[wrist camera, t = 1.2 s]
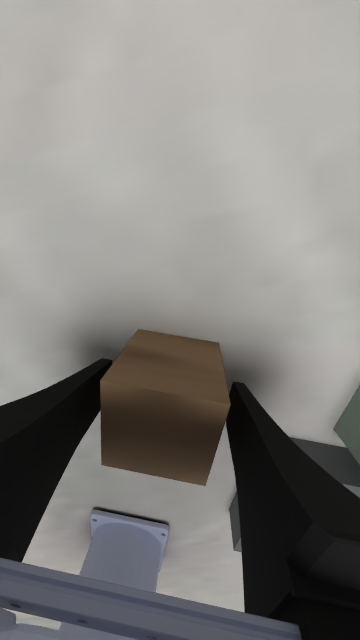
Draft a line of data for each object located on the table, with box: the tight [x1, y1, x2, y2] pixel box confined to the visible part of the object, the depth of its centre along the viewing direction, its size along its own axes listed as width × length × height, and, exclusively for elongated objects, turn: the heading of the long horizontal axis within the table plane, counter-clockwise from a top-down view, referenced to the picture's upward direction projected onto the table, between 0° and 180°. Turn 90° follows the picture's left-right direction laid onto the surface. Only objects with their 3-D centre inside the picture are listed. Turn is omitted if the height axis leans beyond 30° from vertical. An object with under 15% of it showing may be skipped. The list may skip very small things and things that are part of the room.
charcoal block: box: [229, 437, 360, 552], centre depth 15 cm, size 10×10×3 cm
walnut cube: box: [100, 329, 231, 486], centre depth 10 cm, size 5×5×5 cm
